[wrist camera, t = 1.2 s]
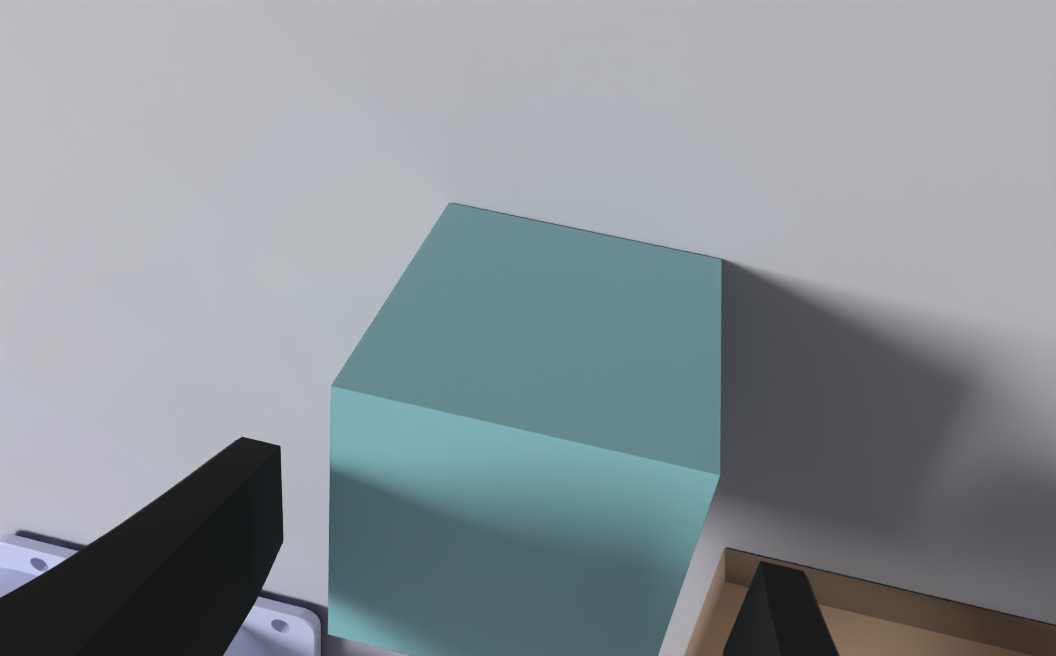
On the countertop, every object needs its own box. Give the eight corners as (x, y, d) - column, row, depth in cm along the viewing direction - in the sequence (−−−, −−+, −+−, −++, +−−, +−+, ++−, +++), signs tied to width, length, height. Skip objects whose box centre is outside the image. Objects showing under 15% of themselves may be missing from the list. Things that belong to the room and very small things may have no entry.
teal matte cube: (429, 414, 19) (328, 634, 14) (448, 202, 17) (330, 386, 12) (660, 467, 19) (637, 712, 14) (721, 259, 16) (721, 475, 11)
